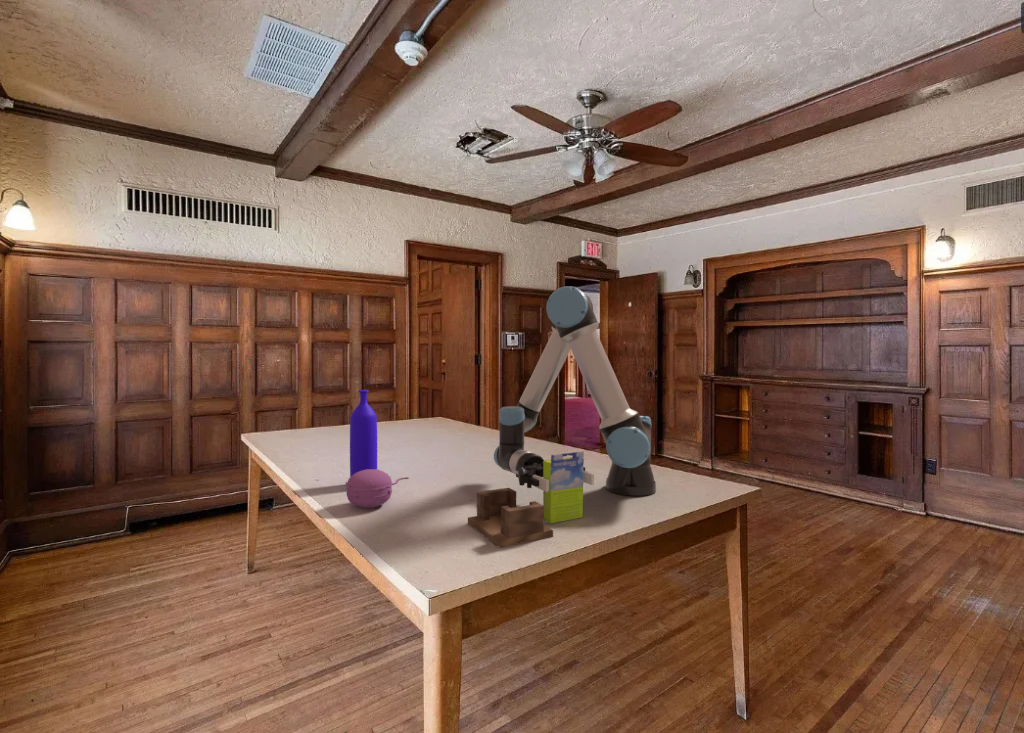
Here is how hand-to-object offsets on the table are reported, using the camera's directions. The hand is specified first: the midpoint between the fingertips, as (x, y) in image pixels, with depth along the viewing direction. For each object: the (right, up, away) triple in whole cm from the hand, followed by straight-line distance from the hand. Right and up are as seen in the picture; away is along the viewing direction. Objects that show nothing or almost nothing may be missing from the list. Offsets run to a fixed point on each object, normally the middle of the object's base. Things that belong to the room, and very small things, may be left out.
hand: (570, 482), depth 126 cm
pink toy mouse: (-51, -9, +14) cm, 53 cm away
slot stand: (-15, -10, -5) cm, 19 cm away
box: (-2, -10, +3) cm, 11 cm away
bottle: (-61, -9, +33) cm, 70 cm away
